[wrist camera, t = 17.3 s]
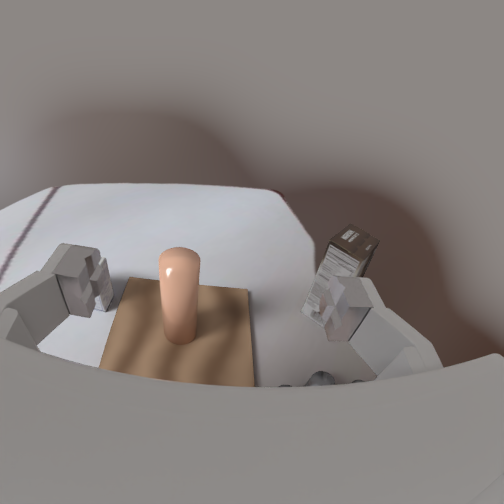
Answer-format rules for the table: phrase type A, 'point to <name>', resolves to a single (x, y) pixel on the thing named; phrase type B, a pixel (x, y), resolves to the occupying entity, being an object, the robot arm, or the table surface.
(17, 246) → the table surface
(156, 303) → the walnut board
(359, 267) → the coffee box
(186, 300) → the peach rounded cylinder
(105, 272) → the medicine box
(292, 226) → the table surface
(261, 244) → the table surface
